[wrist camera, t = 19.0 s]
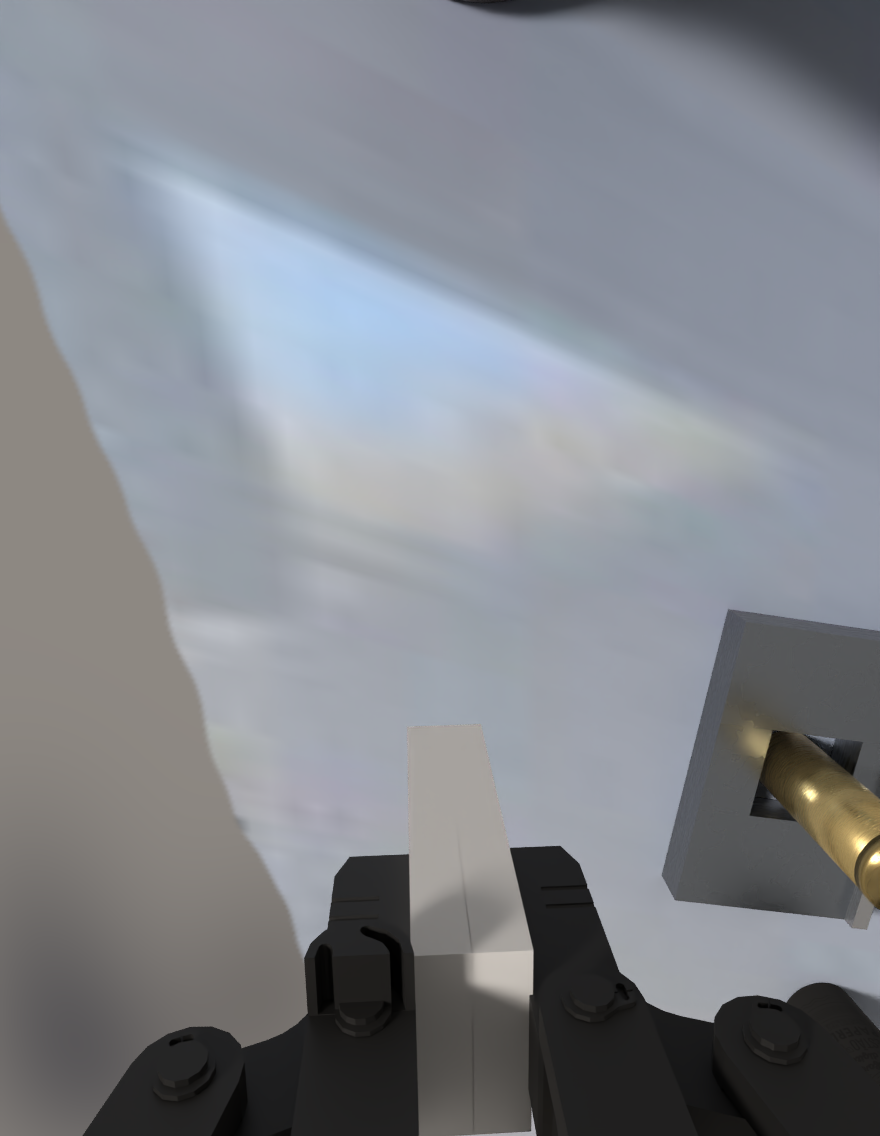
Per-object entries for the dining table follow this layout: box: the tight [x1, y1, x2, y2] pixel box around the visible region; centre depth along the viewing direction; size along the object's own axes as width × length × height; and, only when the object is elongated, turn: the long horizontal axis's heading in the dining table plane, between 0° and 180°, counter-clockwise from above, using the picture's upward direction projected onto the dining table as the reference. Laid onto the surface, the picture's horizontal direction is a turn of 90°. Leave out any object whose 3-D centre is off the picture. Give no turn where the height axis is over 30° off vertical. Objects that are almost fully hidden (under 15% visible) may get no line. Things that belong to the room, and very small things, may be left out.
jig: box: [662, 609, 880, 930], centre depth 47 cm, size 18×12×3 cm, turn 171°
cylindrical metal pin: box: [759, 731, 880, 910], centre depth 43 cm, size 4×4×12 cm
